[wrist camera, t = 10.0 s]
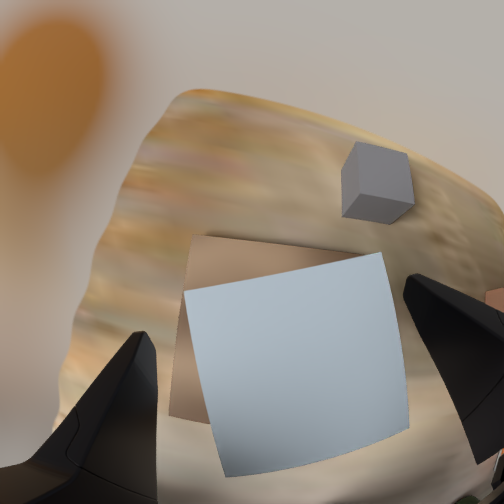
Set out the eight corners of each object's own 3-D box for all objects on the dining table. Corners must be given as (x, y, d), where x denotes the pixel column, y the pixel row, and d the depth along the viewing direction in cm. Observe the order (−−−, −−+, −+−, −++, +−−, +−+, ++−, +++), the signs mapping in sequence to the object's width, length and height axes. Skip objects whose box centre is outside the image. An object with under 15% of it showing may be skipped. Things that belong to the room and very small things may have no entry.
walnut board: (347, 426, 15) (353, 432, 14) (173, 410, 16) (168, 415, 15) (366, 260, 18) (373, 256, 17) (196, 239, 19) (192, 234, 18)
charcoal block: (389, 224, 19) (414, 204, 15) (341, 217, 19) (360, 193, 15) (385, 179, 20) (407, 153, 16) (340, 170, 20) (356, 141, 16)
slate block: (316, 367, 15) (409, 427, 5) (243, 382, 15) (225, 477, 5) (302, 296, 17) (380, 251, 6) (229, 311, 16) (183, 291, 6)
